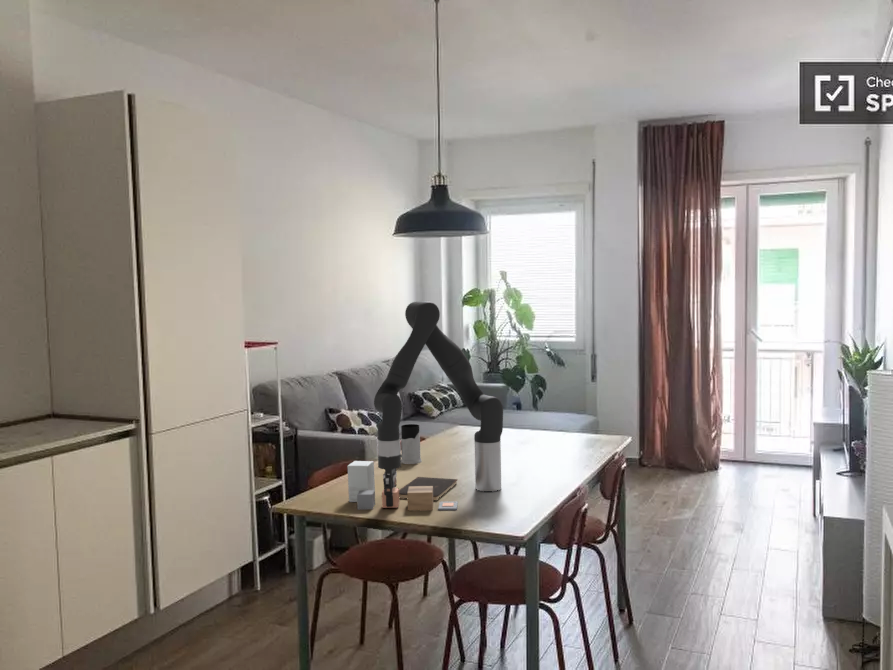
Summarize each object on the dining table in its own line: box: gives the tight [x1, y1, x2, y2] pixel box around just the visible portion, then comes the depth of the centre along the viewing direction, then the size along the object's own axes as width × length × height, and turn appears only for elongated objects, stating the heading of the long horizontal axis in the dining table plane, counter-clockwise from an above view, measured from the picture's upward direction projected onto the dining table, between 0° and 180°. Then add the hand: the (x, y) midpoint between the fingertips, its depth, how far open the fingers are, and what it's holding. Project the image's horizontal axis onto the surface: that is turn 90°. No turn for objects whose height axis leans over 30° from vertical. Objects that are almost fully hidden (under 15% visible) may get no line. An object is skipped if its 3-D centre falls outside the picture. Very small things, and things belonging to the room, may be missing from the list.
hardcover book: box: [399, 476, 458, 501], centre depth 269 cm, size 16×23×2 cm
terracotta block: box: [381, 487, 400, 509], centre depth 249 cm, size 5×5×5 cm
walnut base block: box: [407, 486, 434, 511], centre depth 249 cm, size 8×8×6 cm
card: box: [437, 500, 459, 511], centre depth 248 cm, size 8×6×1 cm
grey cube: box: [356, 489, 376, 510], centre depth 250 cm, size 5×5×5 cm
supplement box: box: [347, 460, 376, 503], centre depth 259 cm, size 7×7×13 cm
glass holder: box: [400, 423, 423, 465], centre depth 315 cm, size 9×14×15 cm, turn 88°
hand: (390, 503), depth 250 cm, fingers closed on terracotta block, 5 cm apart
